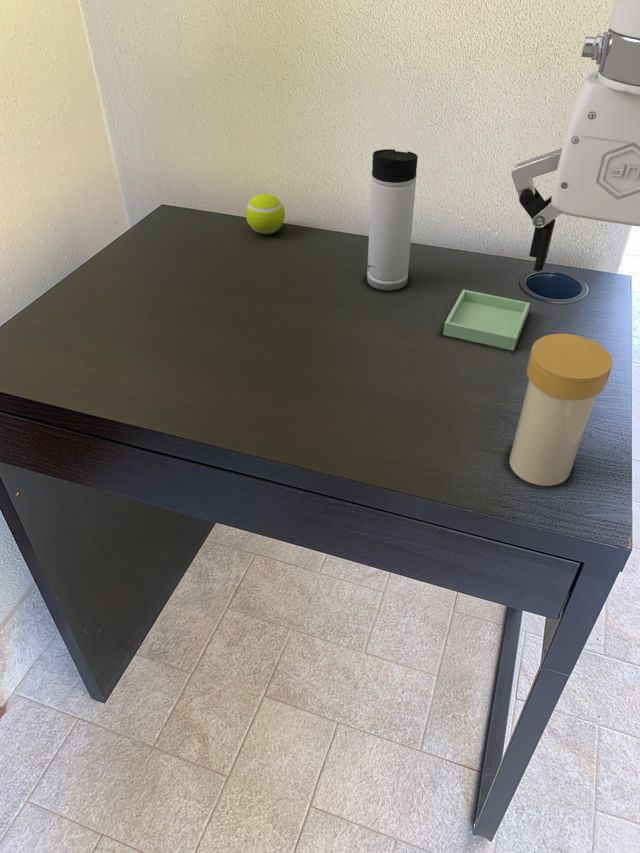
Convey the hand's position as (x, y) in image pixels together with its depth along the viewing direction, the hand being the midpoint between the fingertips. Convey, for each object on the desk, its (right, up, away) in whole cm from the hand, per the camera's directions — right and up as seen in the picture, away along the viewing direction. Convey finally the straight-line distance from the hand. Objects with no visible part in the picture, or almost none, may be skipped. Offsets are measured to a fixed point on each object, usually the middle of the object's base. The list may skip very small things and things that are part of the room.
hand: (595, 274), depth 60 cm
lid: (0, -7, +6) cm, 9 cm away
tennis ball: (-34, +20, +59) cm, 71 cm away
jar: (0, -18, +15) cm, 23 cm away
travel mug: (-14, +9, +46) cm, 49 cm away
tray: (-1, +1, +36) cm, 36 cm away
